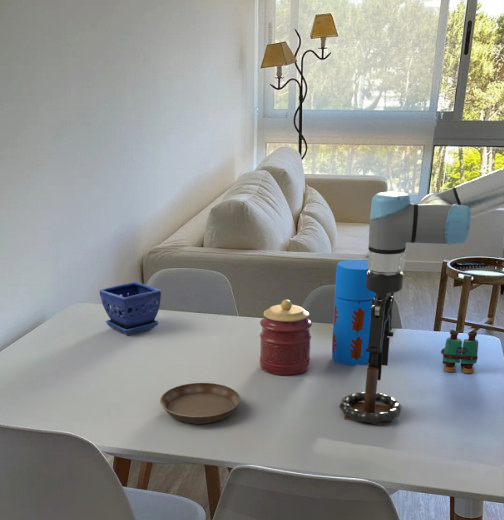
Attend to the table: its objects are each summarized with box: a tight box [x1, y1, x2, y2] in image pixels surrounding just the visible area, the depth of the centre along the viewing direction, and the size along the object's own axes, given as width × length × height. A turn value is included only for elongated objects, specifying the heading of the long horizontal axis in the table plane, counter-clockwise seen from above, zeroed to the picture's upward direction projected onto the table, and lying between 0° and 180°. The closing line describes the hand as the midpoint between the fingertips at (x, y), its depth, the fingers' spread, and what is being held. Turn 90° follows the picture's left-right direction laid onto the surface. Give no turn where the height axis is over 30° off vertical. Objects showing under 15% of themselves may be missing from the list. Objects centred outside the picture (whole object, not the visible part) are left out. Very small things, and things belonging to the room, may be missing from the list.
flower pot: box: [99, 281, 162, 336], centre depth 206 cm, size 13×13×12 cm
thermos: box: [331, 259, 376, 366], centre depth 182 cm, size 11×11×25 cm
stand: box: [343, 367, 391, 426], centre depth 152 cm, size 9×9×12 cm
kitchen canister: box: [259, 299, 313, 376], centre depth 178 cm, size 13×13×18 cm
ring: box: [339, 391, 402, 424], centre depth 154 cm, size 13×13×2 cm
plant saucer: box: [159, 382, 241, 425], centre depth 157 cm, size 18×18×3 cm
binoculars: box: [440, 329, 479, 374], centre depth 180 cm, size 9×11×10 cm
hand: (377, 371), depth 157 cm, fingers open, 8 cm apart
